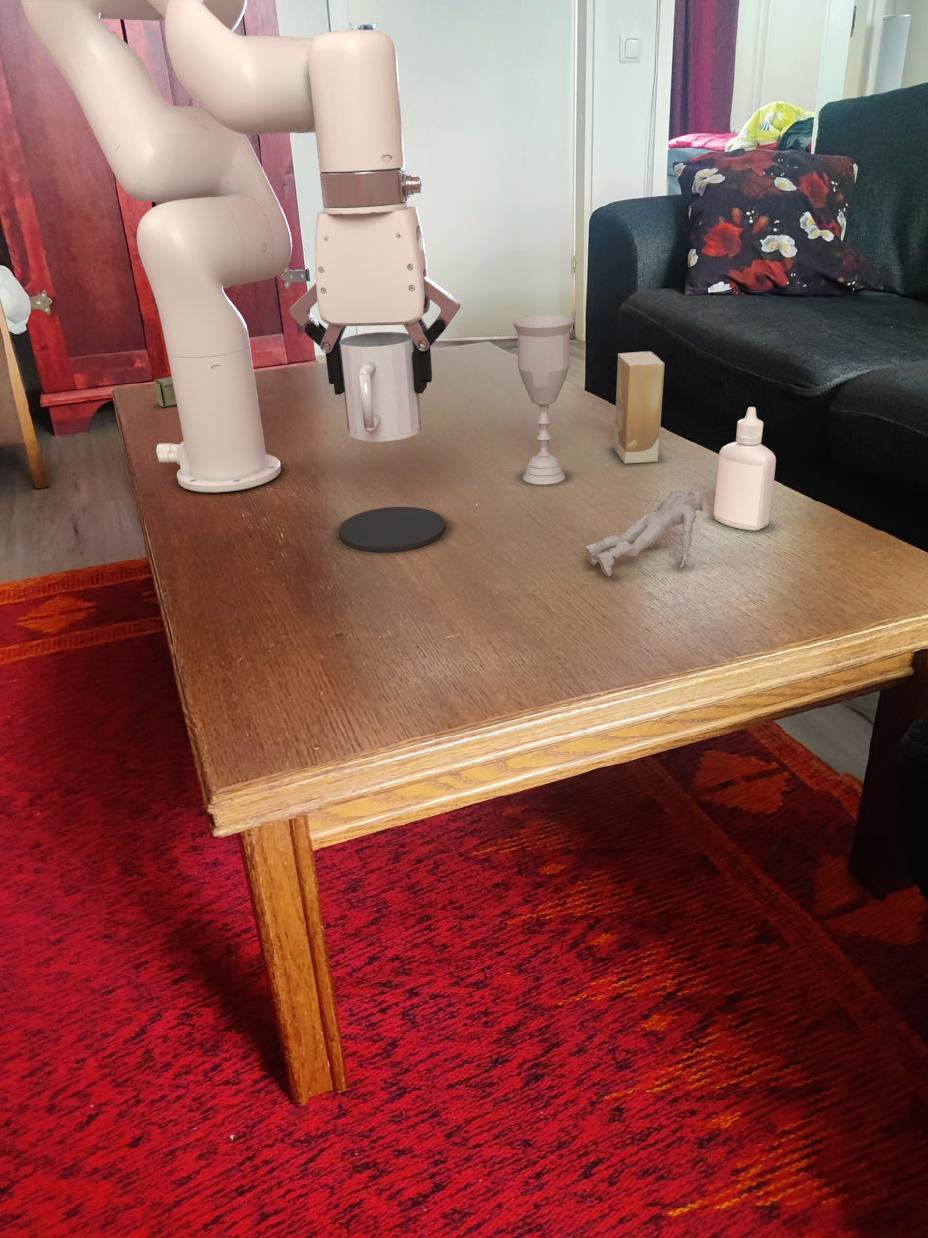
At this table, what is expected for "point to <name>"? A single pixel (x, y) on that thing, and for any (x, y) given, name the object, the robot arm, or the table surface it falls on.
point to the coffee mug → (380, 386)
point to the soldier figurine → (650, 530)
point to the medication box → (165, 392)
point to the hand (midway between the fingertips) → (381, 389)
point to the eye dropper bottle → (745, 478)
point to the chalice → (543, 381)
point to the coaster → (392, 529)
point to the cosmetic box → (638, 407)
